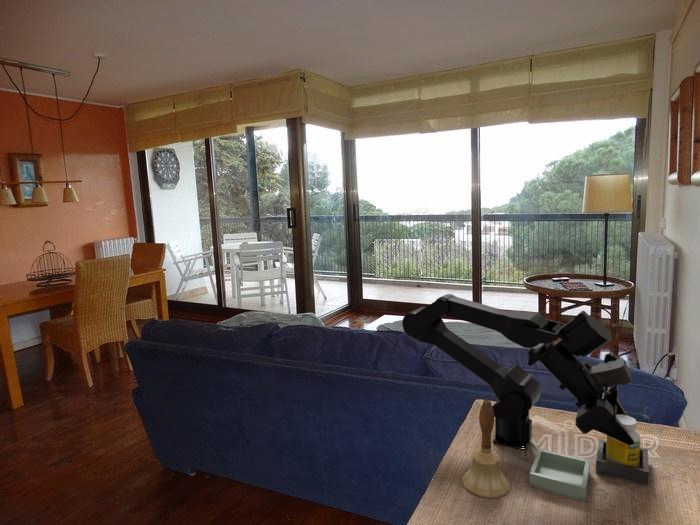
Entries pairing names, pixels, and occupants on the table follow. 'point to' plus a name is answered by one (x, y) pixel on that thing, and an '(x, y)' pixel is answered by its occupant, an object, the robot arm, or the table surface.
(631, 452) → the supplement bottle
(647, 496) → the table surface
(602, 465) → the collar
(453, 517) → the table surface
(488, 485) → the hand bell
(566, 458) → the tray
